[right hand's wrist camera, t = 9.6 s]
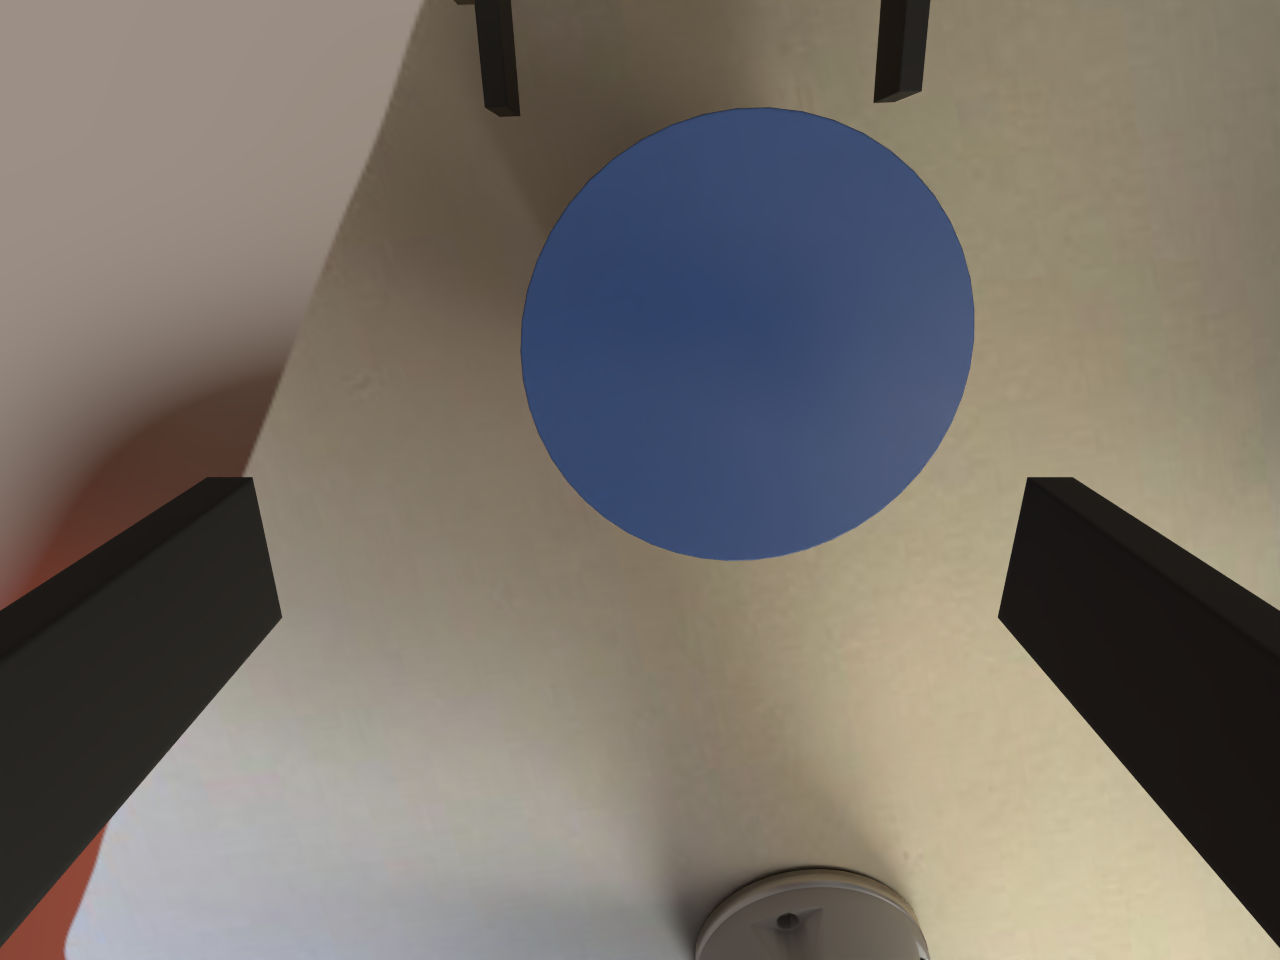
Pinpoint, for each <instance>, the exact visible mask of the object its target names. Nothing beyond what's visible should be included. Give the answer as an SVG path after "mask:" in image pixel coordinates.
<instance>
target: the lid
mask: <svg viewBox="0 0 1280 960" xmlns="http://www.w3.org/2000/svg"><path fill="white" fill-rule="evenodd" d="M973 343H974V303H973V295H972V287H971V279H970V275H969V272H968V268H967V264H966V261H965V257H964V253H963V250H962V247H961V245H960V243H959V240H958V238H957V236H956V233H955V231H954V229H953V226H952V224H951V222H950V220H949V218H948V217H947V215H946V213H945V212H944V210H943V209H942V207H941V205H940V204H939V202H938V200H937V199H936V197H935V196H934V194H933V193H932V192H931V191H930V189H929V188H928V187H927V186H926V185H925V184H924V182H923V181H922V180H921V179H920V178H919V176H918V175H917V174H916V173H915V172H914V171H913V170H912V169H911V168H910V167H909V166H908V165H906V164H905V163H904V162H903V161H902V160H901V159H900V158H899V157H897V156H896V155H895V154H894V153H893V152H892V151H891V150H889V149H888V148H886V147H884V146H883V145H881V144H880V143H878V142H877V141H875V140H873V139H872V138H870V137H869V136H867V135H866V134H864V133H862V132H860V131H858V130H855V129H853V128H851V127H849V126H846V125H844V124H842V123H840V122H837V121H835V120H832V119H829V118H825V117H821V116H818V115H814V114H810V113H807V112H803V111H795V110H787V109H778V108H770V107H768V108H736V109H730V110H725V111H719V112H713V113H708V114H703V115H700V116H697V117H693V118H690V119H687V120H684V121H681V122H678V123H675V124H672V125H670V126H668V127H666V128H664V129H662V130H660V131H658V132H656V133H654V134H652V135H650V136H648V137H645V138H643V139H641V140H640V141H638V142H637V143H635V144H634V145H633V146H631V147H630V148H628V149H627V150H625V151H624V152H622V153H621V154H619V155H618V156H616V157H615V158H613V159H612V160H611V161H610V162H609V163H608V164H607V165H606V166H604V167H603V168H602V169H601V170H600V171H599V172H598V173H597V174H596V175H594V176H593V177H592V178H591V179H590V180H589V181H588V182H587V183H586V184H585V186H584V187H583V188H582V189H581V190H580V192H579V193H578V194H577V195H576V196H575V197H574V199H573V200H572V201H571V202H570V203H569V204H568V206H567V207H566V209H565V210H564V212H563V213H562V215H561V217H560V218H559V220H558V221H557V223H556V224H555V226H554V227H553V229H552V231H551V232H550V234H549V236H548V238H547V240H546V243H545V245H544V247H543V249H542V251H541V253H540V255H539V257H538V260H537V262H536V265H535V268H534V271H533V274H532V278H531V281H530V284H529V287H528V290H527V295H526V301H525V306H524V312H523V318H522V329H521V362H522V374H523V382H524V386H525V391H526V396H527V400H528V405H529V409H530V411H531V414H532V417H533V420H534V422H535V425H536V428H537V431H538V433H539V436H540V438H541V439H542V441H543V443H544V445H545V447H546V449H547V451H548V453H549V455H550V457H551V459H552V460H553V462H554V463H555V464H556V466H557V467H558V469H559V470H560V472H561V473H562V474H563V476H564V477H565V479H566V480H567V482H568V483H569V484H570V485H571V486H572V487H573V488H574V489H575V490H576V491H577V493H578V494H579V495H580V496H581V497H582V498H583V499H584V500H585V501H586V502H587V503H588V504H589V505H591V506H592V507H593V508H594V509H595V510H596V511H598V512H599V513H600V514H601V515H602V516H603V517H605V518H606V519H607V520H609V521H611V522H612V523H614V524H615V525H617V526H618V527H620V528H621V529H623V530H624V531H626V532H627V533H629V534H631V535H633V536H635V537H638V538H640V539H642V540H644V541H646V542H648V543H650V544H652V545H655V546H658V547H661V548H664V549H667V550H669V551H672V552H675V553H679V554H684V555H689V556H693V557H698V558H704V559H715V560H725V561H737V560H758V559H765V558H773V557H780V556H784V555H788V554H792V553H796V552H799V551H803V550H807V549H810V548H812V547H815V546H817V545H820V544H822V543H825V542H828V541H830V540H833V539H835V538H836V537H838V536H840V535H842V534H844V533H846V532H848V531H850V530H852V529H854V528H856V527H857V526H859V525H860V524H862V523H863V522H865V521H866V520H868V519H869V518H871V517H872V516H873V515H875V514H876V513H878V512H879V511H881V510H882V509H883V508H884V507H885V506H886V505H888V504H889V503H890V502H891V501H892V500H893V499H895V498H896V497H897V496H898V495H899V494H900V493H901V492H902V491H903V490H904V489H905V488H906V487H907V486H908V485H909V484H910V483H911V482H912V480H913V479H914V478H915V477H916V476H917V475H918V474H919V473H920V472H921V470H922V469H923V467H924V466H925V465H926V463H927V462H928V461H929V459H930V458H931V457H932V455H933V454H934V452H935V451H936V450H937V448H938V446H939V444H940V443H941V441H942V439H943V437H944V436H945V434H946V432H947V430H948V428H949V427H950V425H951V423H952V420H953V418H954V415H955V413H956V411H957V408H958V406H959V403H960V401H961V398H962V395H963V392H964V388H965V384H966V381H967V377H968V374H969V370H970V364H971V357H972V350H973Z"/></svg>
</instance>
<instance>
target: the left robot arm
mask: <svg viewBox="0 0 1280 960" xmlns="http://www.w3.org/2000/svg"><path fill="white" fill-rule="evenodd" d="M454 1H455V2H456V3H457V4H458V5H466V4H475V12H476V22H477V32H478V43H479V53H480V63H481V73H482V83H483V93H484V103H485V108H487V109H488V110H490V111H491V112H493V113H495V114H496V115H498V116H499V117H506V116H520V106H519V94H518V82H517V70H516V58H515V46H514V34H513V22H512V10H511V0H454ZM929 8H930V0H881V9H880V23H879V36H878V50H877V63H876V76H875V90H874V103H883V102H896V101H898V100H901V99H903V98H906V97H908V96H911V95H913V94H916V93H918V92H921V91H922V81H923V71H924V60H925V50H926V39H927V29H928V18H929Z"/></svg>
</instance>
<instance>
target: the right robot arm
mask: <svg viewBox="0 0 1280 960" xmlns="http://www.w3.org/2000/svg"><path fill="white" fill-rule="evenodd" d="M281 618H282V614H281V609H280V605H279V600H278V595H277V591H276V586H275V581H274V576H273V572H272V567H271V562H270V558H269V553H268V548H267V543H266V539H265V534H264V529H263V524H262V520H261V515H260V510H259V506H258V501H257V496H256V491H255V487H254V482H253V477H207V478H205V479H204V480H202V481H201V482H199V483H198V484H196V485H195V486H193V487H192V488H190V489H188V490H187V491H185V492H184V493H182V494H181V495H179V496H178V497H176V498H174V499H173V500H171V501H170V502H168V503H167V504H165V505H164V506H162V507H161V508H159V509H157V510H156V511H154V512H153V513H151V514H150V515H148V516H147V517H145V518H143V519H142V520H140V521H139V522H137V523H136V524H134V525H133V526H131V527H130V528H128V529H126V530H125V531H123V532H122V533H120V534H119V535H117V536H116V537H114V538H113V539H111V540H109V541H108V542H106V543H105V544H103V545H102V546H100V547H99V548H97V549H95V550H94V551H92V552H91V553H89V554H88V555H86V556H85V557H83V558H82V559H80V560H78V561H77V562H75V563H74V564H72V565H71V566H69V567H68V568H66V569H64V570H63V571H61V572H60V573H58V574H57V575H55V576H54V577H52V578H50V579H49V580H47V581H46V582H44V583H43V584H41V585H40V586H38V587H37V588H35V589H34V590H32V591H30V592H29V593H27V594H26V595H24V596H23V597H21V598H20V599H18V600H16V601H15V602H13V603H12V604H10V605H9V606H7V607H6V608H4V609H3V610H1V611H0V948H1V946H2V945H3V944H4V943H5V942H6V941H7V939H8V938H9V937H10V936H11V935H12V934H13V932H14V931H15V930H16V929H17V928H18V926H19V925H20V924H21V923H22V922H23V921H24V919H25V918H26V917H27V916H28V915H29V914H30V912H31V911H32V910H33V909H34V908H35V907H36V905H37V904H38V903H39V902H40V901H41V899H42V898H43V897H44V896H45V895H46V894H47V893H48V891H49V890H50V889H51V888H52V887H53V885H54V884H55V883H56V882H57V881H58V880H59V878H60V877H61V876H62V875H63V874H64V873H65V871H66V870H67V869H68V868H69V867H70V865H71V864H72V863H73V862H74V861H75V860H76V859H77V857H78V856H79V855H80V854H81V853H82V851H83V850H84V849H85V848H86V847H87V846H88V844H89V843H90V842H91V841H92V840H93V839H94V837H95V836H96V835H97V834H98V833H99V832H100V830H101V829H102V828H103V827H104V826H105V825H106V823H107V822H108V821H109V820H110V819H111V818H112V816H113V815H114V814H115V813H116V812H117V810H118V809H119V808H120V807H121V806H122V805H123V803H124V802H125V801H126V800H127V799H128V798H129V796H130V795H131V794H132V793H133V792H134V791H135V789H136V788H137V787H138V786H139V785H140V784H141V782H142V781H143V780H144V779H145V778H146V776H147V775H148V774H149V773H150V772H151V771H152V769H153V768H154V767H155V766H156V765H157V764H158V762H159V761H160V760H161V759H162V758H163V757H164V755H165V754H166V753H167V752H168V751H169V750H170V748H171V747H172V746H173V745H174V744H175V742H176V741H177V740H178V739H179V738H180V737H181V735H182V734H183V733H184V732H185V731H186V730H187V728H188V727H189V726H190V725H191V724H192V723H193V721H194V720H195V719H196V718H197V717H198V716H199V714H200V713H201V712H202V711H203V710H204V709H205V707H206V706H207V705H208V704H209V703H210V701H211V700H212V699H213V698H214V697H215V696H216V694H217V693H218V692H219V691H220V690H221V689H222V687H223V686H224V685H225V684H226V683H227V682H228V680H229V679H230V678H231V677H232V676H233V675H234V673H235V672H236V671H237V670H238V669H239V667H240V666H241V665H242V664H243V663H244V662H245V660H246V659H247V658H248V657H249V656H250V655H251V653H252V652H253V651H254V650H255V649H256V648H257V646H258V645H259V644H260V643H261V642H262V641H263V639H264V638H265V637H266V636H267V635H268V634H269V632H270V631H271V630H272V629H273V628H274V626H275V625H276V624H277V623H278V622H279V621H280V619H281ZM998 618H999V619H1000V621H1001V622H1002V623H1003V624H1004V625H1005V626H1006V628H1007V629H1008V630H1009V631H1010V632H1011V634H1012V635H1013V636H1014V637H1015V638H1016V639H1017V641H1018V642H1019V643H1020V644H1021V645H1022V646H1023V648H1024V649H1025V650H1026V651H1027V652H1028V653H1029V655H1030V656H1031V657H1032V658H1033V659H1034V660H1035V662H1036V663H1037V664H1038V665H1039V666H1040V667H1041V669H1042V670H1043V671H1044V672H1045V673H1046V675H1047V676H1048V677H1049V678H1050V679H1051V680H1052V682H1053V683H1054V684H1055V685H1056V686H1057V687H1058V689H1059V690H1060V691H1061V692H1062V693H1063V694H1064V696H1065V697H1066V698H1067V699H1068V700H1069V701H1070V703H1071V704H1072V705H1073V706H1074V707H1075V709H1076V710H1077V711H1078V712H1079V713H1080V714H1081V716H1082V717H1083V718H1084V719H1085V720H1086V721H1087V723H1088V724H1089V725H1090V726H1091V727H1092V728H1093V730H1094V731H1095V732H1096V733H1097V734H1098V735H1099V737H1100V738H1101V739H1102V740H1103V741H1104V742H1105V744H1106V745H1107V746H1108V747H1109V748H1110V750H1111V751H1112V752H1113V753H1114V754H1115V755H1116V757H1117V758H1118V759H1119V760H1120V761H1121V762H1122V764H1123V765H1124V766H1125V767H1126V768H1127V769H1128V771H1129V772H1130V773H1131V774H1132V775H1133V776H1134V778H1135V779H1136V780H1137V781H1138V782H1139V784H1140V785H1141V786H1142V787H1143V788H1144V789H1145V791H1146V792H1147V793H1148V794H1149V795H1150V796H1151V798H1152V799H1153V800H1154V801H1155V802H1156V803H1157V805H1158V806H1159V807H1160V808H1161V809H1162V810H1163V812H1164V813H1165V814H1166V815H1167V816H1168V818H1169V819H1170V820H1171V821H1172V822H1173V823H1174V825H1175V826H1176V827H1177V828H1178V829H1179V830H1180V832H1181V833H1182V834H1183V835H1184V836H1185V837H1186V839H1187V840H1188V841H1189V842H1190V843H1191V844H1192V846H1193V847H1194V848H1195V849H1196V850H1197V851H1198V853H1199V854H1200V855H1201V856H1202V857H1203V859H1204V860H1205V861H1206V862H1207V863H1208V864H1209V866H1210V867H1211V868H1212V869H1213V870H1214V871H1215V873H1216V874H1217V875H1218V876H1219V877H1220V878H1221V880H1222V881H1223V882H1224V883H1225V884H1226V885H1227V887H1228V888H1229V889H1230V890H1231V891H1232V893H1233V894H1234V895H1235V896H1236V897H1237V898H1238V900H1239V901H1240V902H1241V903H1242V904H1243V905H1244V907H1245V908H1246V909H1247V910H1248V911H1249V912H1250V914H1251V915H1252V916H1253V917H1254V918H1255V919H1256V921H1257V922H1258V923H1259V924H1260V925H1261V926H1262V928H1263V929H1264V930H1265V931H1266V932H1267V934H1268V935H1269V936H1270V937H1271V938H1272V939H1273V941H1274V942H1275V943H1276V944H1277V945H1278V946H1279V948H1280V611H1279V610H1278V609H1276V608H1274V607H1273V606H1271V605H1270V604H1268V603H1267V602H1265V601H1264V600H1262V599H1260V598H1259V597H1257V596H1256V595H1254V594H1253V593H1251V592H1250V591H1248V590H1247V589H1245V588H1243V587H1242V586H1240V585H1239V584H1237V583H1236V582H1234V581H1233V580H1231V579H1230V578H1228V577H1226V576H1225V575H1223V574H1222V573H1220V572H1219V571H1217V570H1216V569H1214V568H1212V567H1211V566H1209V565H1208V564H1206V563H1205V562H1203V561H1202V560H1200V559H1199V558H1197V557H1195V556H1194V555H1192V554H1191V553H1189V552H1188V551H1186V550H1185V549H1183V548H1181V547H1180V546H1178V545H1177V544H1175V543H1174V542H1172V541H1171V540H1169V539H1168V538H1166V537H1164V536H1163V535H1161V534H1160V533H1158V532H1157V531H1155V530H1154V529H1152V528H1150V527H1149V526H1147V525H1146V524H1144V523H1143V522H1141V521H1140V520H1138V519H1137V518H1135V517H1133V516H1132V515H1130V514H1129V513H1127V512H1126V511H1124V510H1123V509H1121V508H1119V507H1118V506H1116V505H1115V504H1113V503H1112V502H1110V501H1109V500H1107V499H1106V498H1104V497H1102V496H1101V495H1099V494H1098V493H1096V492H1095V491H1093V490H1092V489H1090V488H1088V487H1087V486H1085V485H1084V484H1082V483H1081V482H1079V481H1078V480H1076V479H1075V478H1073V477H1027V482H1026V487H1025V491H1024V496H1023V501H1022V506H1021V510H1020V515H1019V520H1018V524H1017V529H1016V534H1015V539H1014V543H1013V548H1012V553H1011V558H1010V562H1009V567H1008V572H1007V576H1006V581H1005V586H1004V591H1003V595H1002V600H1001V605H1000V609H999V614H998ZM695 960H930V957H929V953H928V948H927V944H926V941H925V938H924V936H923V933H922V931H921V928H920V926H919V923H918V921H917V918H916V916H915V914H914V913H913V911H912V909H911V908H910V907H909V905H908V904H907V903H906V902H905V901H904V900H903V899H902V898H901V897H900V896H899V895H898V894H896V893H895V892H894V891H893V890H891V889H890V888H888V887H886V886H885V885H883V884H881V883H879V882H877V881H875V880H872V879H870V878H867V877H864V876H861V875H858V874H854V873H850V872H845V871H838V870H826V869H809V870H798V871H791V872H786V873H781V874H777V875H773V876H770V877H767V878H764V879H761V880H759V881H756V882H754V883H752V884H750V885H748V886H745V887H744V888H742V889H740V890H738V891H737V892H735V893H734V894H732V895H731V896H729V897H728V898H727V899H726V900H724V901H723V902H722V903H721V904H720V905H719V906H718V907H717V908H716V909H715V910H714V911H713V912H712V913H711V915H710V916H709V917H708V918H707V920H706V922H705V923H704V925H703V927H702V929H701V931H700V933H699V936H698V939H697V943H696V949H695Z"/></svg>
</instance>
